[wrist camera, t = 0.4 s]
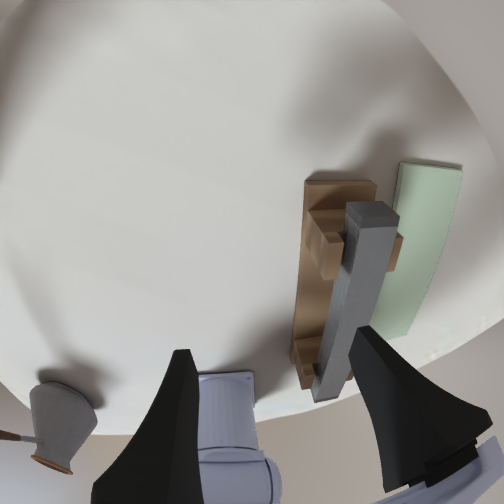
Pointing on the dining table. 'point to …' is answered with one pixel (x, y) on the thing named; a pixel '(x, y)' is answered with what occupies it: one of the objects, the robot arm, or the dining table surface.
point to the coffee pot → (57, 425)
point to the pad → (416, 243)
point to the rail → (354, 290)
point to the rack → (323, 264)
